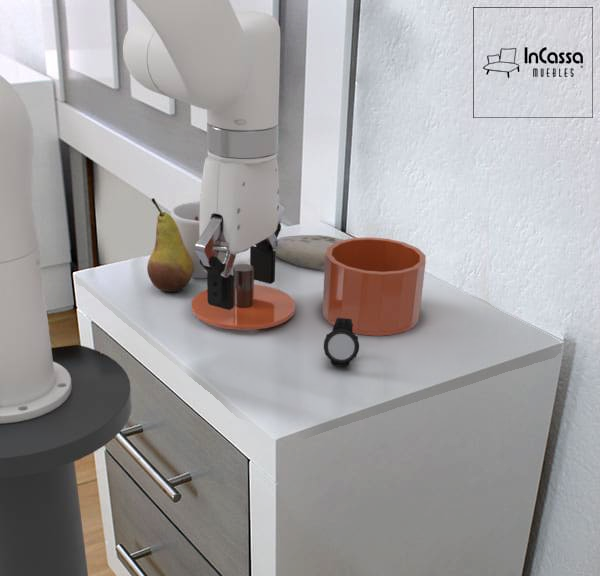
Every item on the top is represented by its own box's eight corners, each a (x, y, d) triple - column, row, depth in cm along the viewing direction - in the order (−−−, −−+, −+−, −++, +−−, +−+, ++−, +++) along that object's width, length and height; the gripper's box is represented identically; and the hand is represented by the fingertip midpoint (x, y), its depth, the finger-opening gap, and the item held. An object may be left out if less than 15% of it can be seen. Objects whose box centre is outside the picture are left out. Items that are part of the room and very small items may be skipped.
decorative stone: (270, 248, 125) (270, 224, 123) (379, 263, 121) (381, 239, 119) (255, 263, 120) (256, 238, 118) (369, 279, 116) (371, 254, 114)
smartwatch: (315, 368, 95) (317, 325, 92) (336, 349, 99) (339, 307, 96) (350, 378, 94) (354, 334, 91) (370, 358, 98) (374, 316, 95)
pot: (394, 344, 101) (401, 281, 97) (305, 320, 105) (308, 259, 101) (433, 309, 109) (440, 250, 105) (349, 288, 114) (353, 231, 110)
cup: (244, 255, 122) (244, 197, 117) (263, 277, 116) (264, 216, 111) (166, 263, 118) (163, 203, 114) (182, 286, 112) (179, 224, 108)
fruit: (199, 295, 110) (197, 198, 104) (153, 300, 108) (147, 201, 102) (189, 278, 114) (185, 184, 108) (144, 282, 113) (138, 187, 106)
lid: (260, 344, 100) (261, 297, 96) (170, 318, 104) (168, 272, 101) (313, 306, 109) (315, 262, 105) (228, 284, 113) (228, 241, 110)
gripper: (255, 120, 103) (254, 263, 113) (164, 152, 91) (171, 311, 100) (312, 130, 101) (306, 276, 110) (227, 165, 88) (228, 327, 97)
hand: (242, 292), depth 105 cm, fingers open, 8 cm apart
